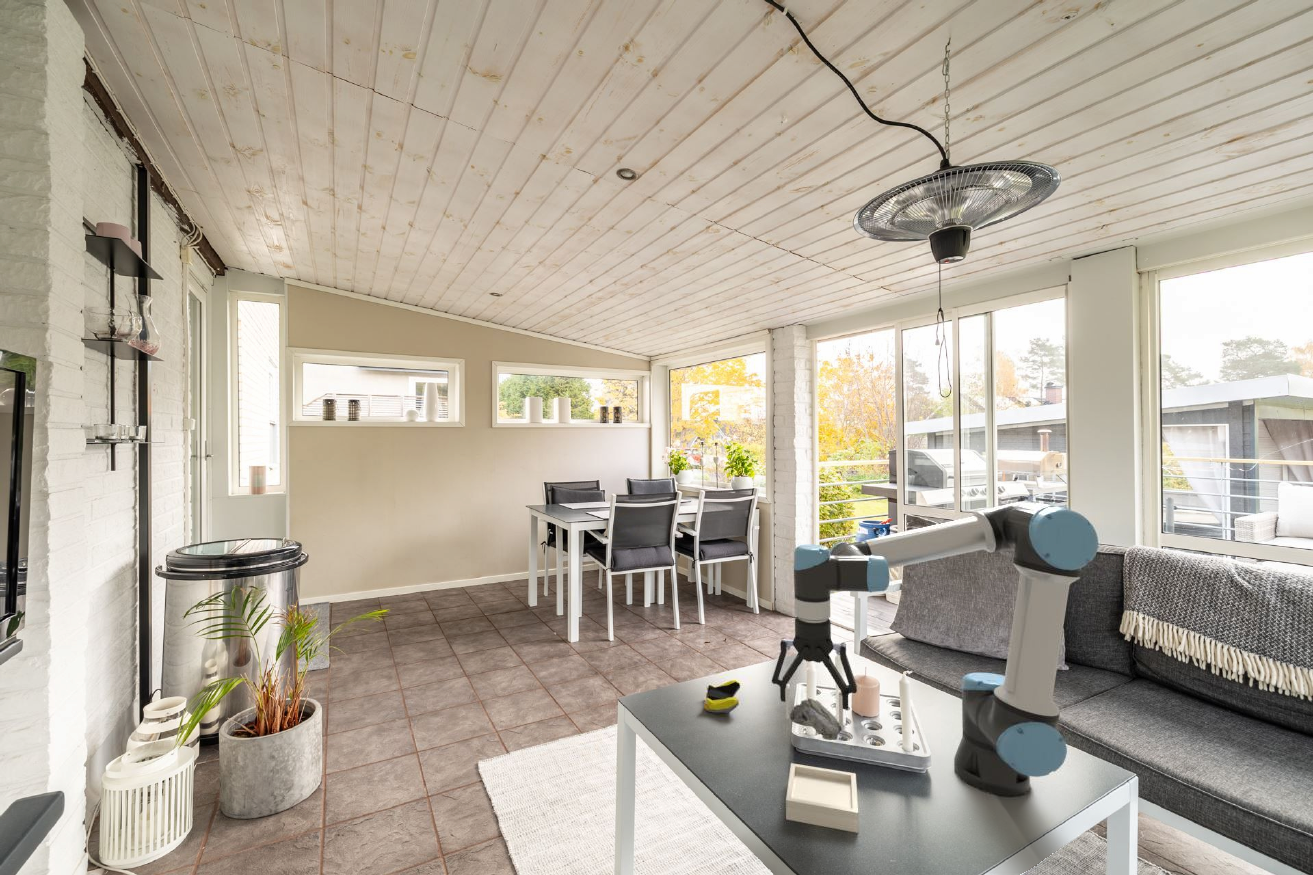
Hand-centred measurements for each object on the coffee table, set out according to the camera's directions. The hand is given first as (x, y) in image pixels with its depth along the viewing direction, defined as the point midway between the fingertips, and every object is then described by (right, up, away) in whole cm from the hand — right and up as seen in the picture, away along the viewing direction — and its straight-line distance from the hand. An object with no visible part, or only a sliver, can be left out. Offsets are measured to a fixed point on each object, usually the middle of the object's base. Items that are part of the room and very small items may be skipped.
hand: (814, 719), depth 125 cm
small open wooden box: (+1, -17, -2) cm, 17 cm away
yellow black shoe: (-15, -18, +44) cm, 50 cm away
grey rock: (0, -2, 0) cm, 2 cm away
